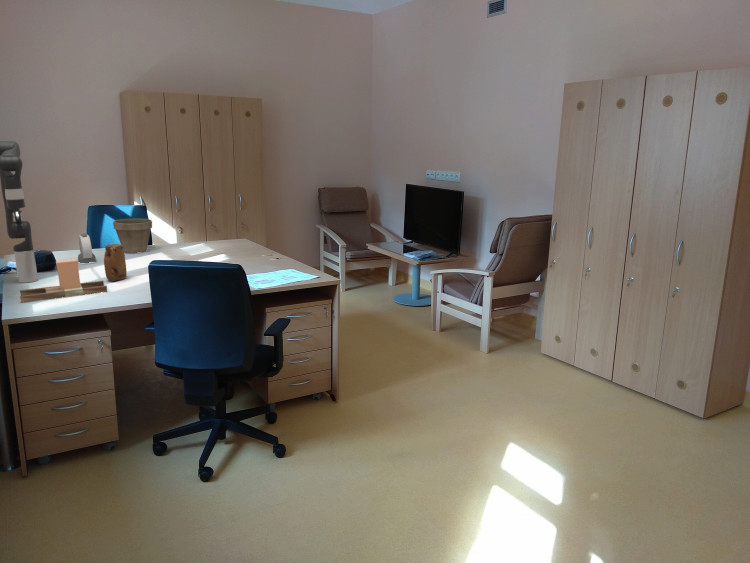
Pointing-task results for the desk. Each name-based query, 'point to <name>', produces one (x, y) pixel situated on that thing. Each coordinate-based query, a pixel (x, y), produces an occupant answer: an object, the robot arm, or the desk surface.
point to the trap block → (68, 274)
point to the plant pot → (133, 234)
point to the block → (114, 262)
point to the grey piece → (85, 250)
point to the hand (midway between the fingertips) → (20, 232)
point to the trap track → (61, 291)
